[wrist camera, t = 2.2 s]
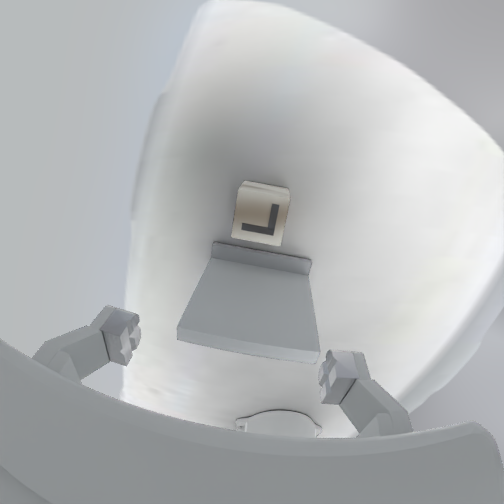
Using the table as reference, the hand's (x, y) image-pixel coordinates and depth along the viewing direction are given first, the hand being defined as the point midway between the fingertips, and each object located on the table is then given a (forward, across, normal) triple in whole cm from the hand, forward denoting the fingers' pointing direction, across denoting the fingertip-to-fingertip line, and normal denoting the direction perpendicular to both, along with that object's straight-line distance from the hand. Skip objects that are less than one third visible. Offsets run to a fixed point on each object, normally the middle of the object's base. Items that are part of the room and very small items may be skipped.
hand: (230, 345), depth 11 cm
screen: (+22, -1, +8) cm, 24 cm away
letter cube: (+22, 0, 0) cm, 22 cm away
